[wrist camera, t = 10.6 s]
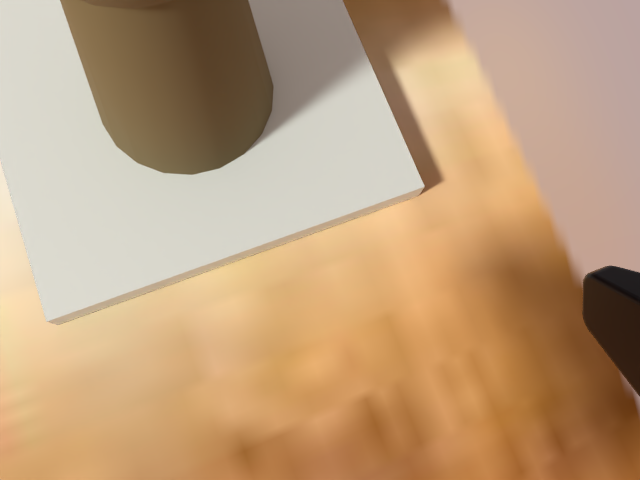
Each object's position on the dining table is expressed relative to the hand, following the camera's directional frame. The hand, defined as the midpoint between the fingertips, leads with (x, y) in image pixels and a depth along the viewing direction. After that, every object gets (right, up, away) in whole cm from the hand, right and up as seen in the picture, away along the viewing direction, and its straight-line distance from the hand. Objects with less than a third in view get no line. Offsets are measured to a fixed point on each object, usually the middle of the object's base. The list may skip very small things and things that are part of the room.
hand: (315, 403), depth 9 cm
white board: (-6, +10, +14) cm, 18 cm away
